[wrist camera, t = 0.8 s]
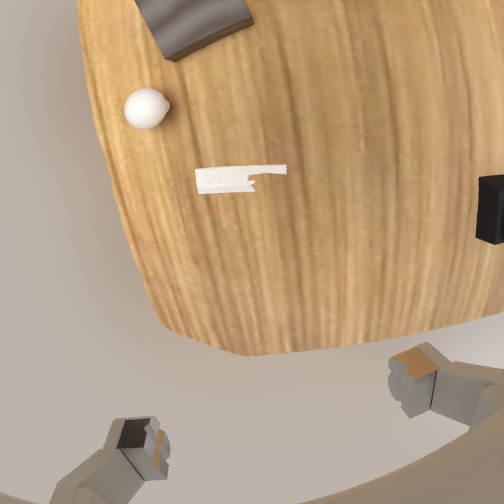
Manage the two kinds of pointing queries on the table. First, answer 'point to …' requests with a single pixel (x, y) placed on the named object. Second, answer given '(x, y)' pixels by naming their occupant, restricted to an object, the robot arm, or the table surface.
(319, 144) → the table surface
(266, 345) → the table surface
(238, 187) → the white plastic blade
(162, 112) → the lightbulb
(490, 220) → the sculpture
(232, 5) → the charcoal block
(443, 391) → the robot arm
